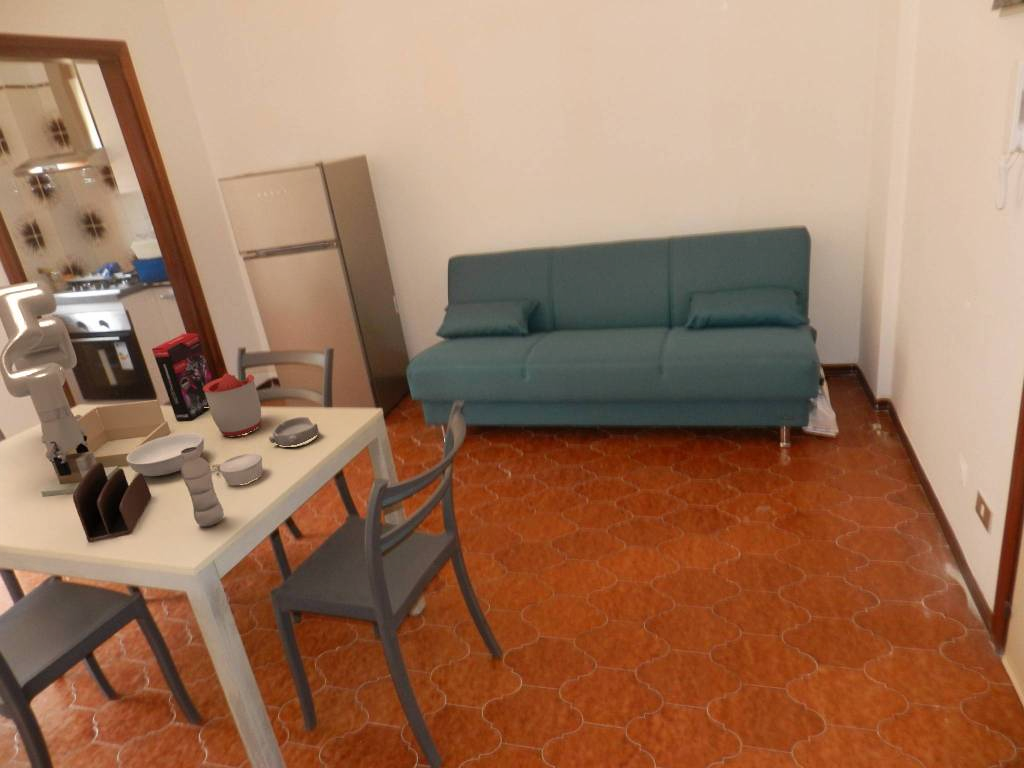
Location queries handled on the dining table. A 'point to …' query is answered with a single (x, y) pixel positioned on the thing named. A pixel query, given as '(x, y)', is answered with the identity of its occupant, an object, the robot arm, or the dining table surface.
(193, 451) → the plastic bottle
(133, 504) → the letter holder
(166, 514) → the dining table surface
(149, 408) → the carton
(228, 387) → the citrus juicer
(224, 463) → the ramekin
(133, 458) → the serving bowl
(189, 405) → the graphics card box
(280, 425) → the dish
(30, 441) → the dining table surface
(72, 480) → the walnut box
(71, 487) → the board
